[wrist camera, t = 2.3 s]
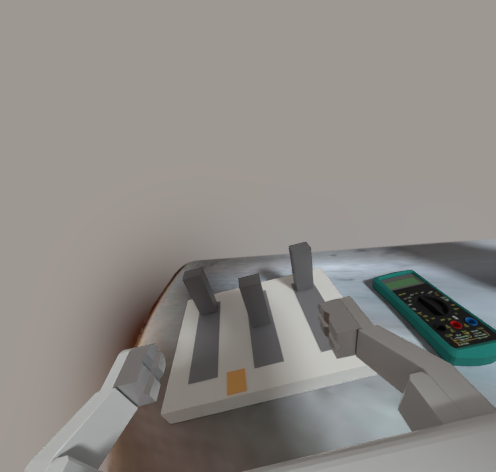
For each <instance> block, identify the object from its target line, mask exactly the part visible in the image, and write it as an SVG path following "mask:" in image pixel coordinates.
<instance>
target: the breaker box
mask: <svg viewBox="0 0 496 472" xmlns="http://www.w3.org/2000/svg"><path fill="white" fill-rule="evenodd" d="M313 283H314V288H310V289H305V290H301V291H297V289H296V287H295V285H294V280H293V275H289V276H285V277H281V278H276V279H272V280H268V281H264V282H261V285H262V289H263V293H264V297H265V301H266V305H267V309H268V313H269V317H270V321H271V324H267V325H263V326H259V327H255V328H252V325H251V322H250V319H249V316H248V313H247V310H246V307H245V304H244V301H243V298H242V295H241V292H240V289H239V288H236V289H232V290H228V291H224V292H220V293H216V294H214V296H215V299H216V301H217V311H216V312H212V313H208V314H204V315H200V313H199V311H198V309H197V307H196V305H195V303H194V301H193V299H191V300H188V302H187V306H186V310H185V314H184V319H183V323H182V327H181V331H180V335H179V339H178V343H177V347H176V352H175V356H174V360H173V364H172V368H171V372H170V376H169V381H168V385H167V389H166V393H165V397H164V401H163V405H162V409H161V414H160V415H161V416H162V417H163V418H165V419H166V420H167V421H168V422H169V423H170V424H173V423H178V422H182V421H186V420H190V419H194V418H199V417H203V416H207V415H211V414H215V413H219V412H224V411H228V410H232V409H236V408H240V407H245V406H249V405H253V404H257V403H261V402H265V401H270V400H274V399H278V398H282V397H286V396H290V395H295V394H299V393H303V392H307V391H311V390H316V389H320V388H324V387H328V386H332V385H336V384H341V383H345V382H349V381H353V380H357V379H362V378H366V377H370V376H374V375H378V373H376V372H375V371H374V370H373V369H371V368H370V367H369V366H368V365H366V364H365V363H364V362H363V361H361V360H360V359H359V358H358V357H356V355H353V356H349V357H344V358H339V359H337V358H336V356H335V354H334V353H333V351H332V349H331V347H330V345H329V338H328V337H327V336H325V335H324V333H323V331H322V329H321V326H320V323H319V318H318V315H319V313H320V312H319V310H318V303H322V302H326V301H330V300H334V299H339V298H343V297H342V296H341V295H340V293H339V292H338V291H337V289H336V288H335V287H334V285H333V284H332V283H331V281H330V280H329V279H328V277H327V276H326V275H325V273H324V272H323V271H322V269H321V268H317V269H313Z"/></svg>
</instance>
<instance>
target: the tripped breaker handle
mask: <svg viewBox="0 0 496 472" xmlns="http://www.w3.org/2000/svg"><path fill="white" fill-rule="evenodd" d="M238 280H239V289H240V292H241V295H242V298H243V301H244V304H245V307H246V310H247V313H248V316H249V319H250V322H251V325H252V328H255V327H259V326H263V325H267V324H271V321H270V317H269V313H268V309H267V305H266V301H265V297H264V293H263V289H262V285H261V281H260V277H259V273H258V274H254V275H250V276H246V277H242V278H238Z"/></svg>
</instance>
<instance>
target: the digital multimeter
mask: <svg viewBox="0 0 496 472" xmlns="http://www.w3.org/2000/svg"><path fill="white" fill-rule="evenodd" d="M373 287H374V288H375V289H376V290H377V291H378V292H379V293H380V294H381V295H382V296H383V297H384V298H385V299H386V300H388V301H389V302H390V303H391V304H392V305H393V306H394V307H395V308H396V309H397V310H398V311H399V312H400V313H401V314H402V315H403V316H404V317H405V318H406V319H407V320H408V321H409V322H410V323H411V325H412V326H413V327H414V328H415V329H416V330H417V331H418V332H419V333H420V334H421V335H422V336H423V337H424V338H425V339H426V340H427V342H428V343H429V344H430V345H431V346H432V347H433V348H434V349H435V350H436V351H437V353H438V354H439V355H440V356H441V357H442V358H443V359H444V360H445V361H446V362H448V363H450V364H451V365H454V366H481V365H486V364H491V363H493V362H495V361H496V330H495V329H494V328H492V327H491V326H489V325H488V324H486V323H485V322H484V321H482V320H481V319H479V318H478V317H476V316H475V315H474V314H472V313H471V312H469V311H468V310H467V309H465V308H464V307H462V306H461V305H459V304H458V303H457V302H455V301H454V300H452V299H451V298H450V297H448V296H447V295H445V294H444V293H443V292H441V291H440V290H439V289H437V288H436V287H434V286H433V285H432V284H430V283H429V282H428V281H426V280H425V279H424V278H422V277H421V276H420V275H419V274H417V273H416V272H415V271H413V270H406V271H399V272H394V273H389V274H386V275H382V276H379V277H376V278H374V280H373ZM419 295H420V296H419ZM428 295H429V296H428ZM397 296H398V297H399V298H400V299H399V298H398V297H397ZM415 297H416V298H415ZM413 311H414V312H415V313H416V314H417V315H416V314H415V313H414V312H413ZM429 326H430V327H431V328H432V329H431V328H430V327H429Z"/></svg>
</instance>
